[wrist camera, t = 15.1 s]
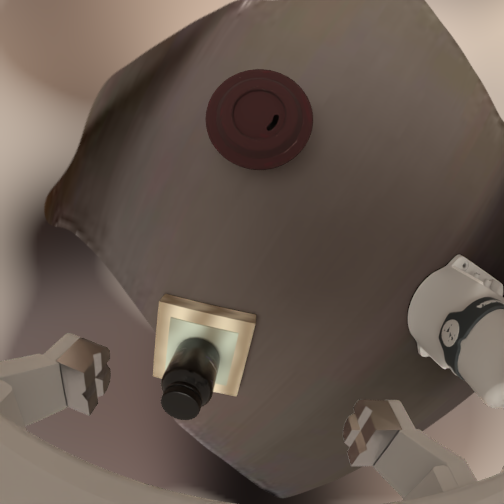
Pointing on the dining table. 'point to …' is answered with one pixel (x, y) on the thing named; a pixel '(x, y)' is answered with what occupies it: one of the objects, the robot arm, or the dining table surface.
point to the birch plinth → (204, 337)
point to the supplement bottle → (190, 378)
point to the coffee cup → (259, 119)
